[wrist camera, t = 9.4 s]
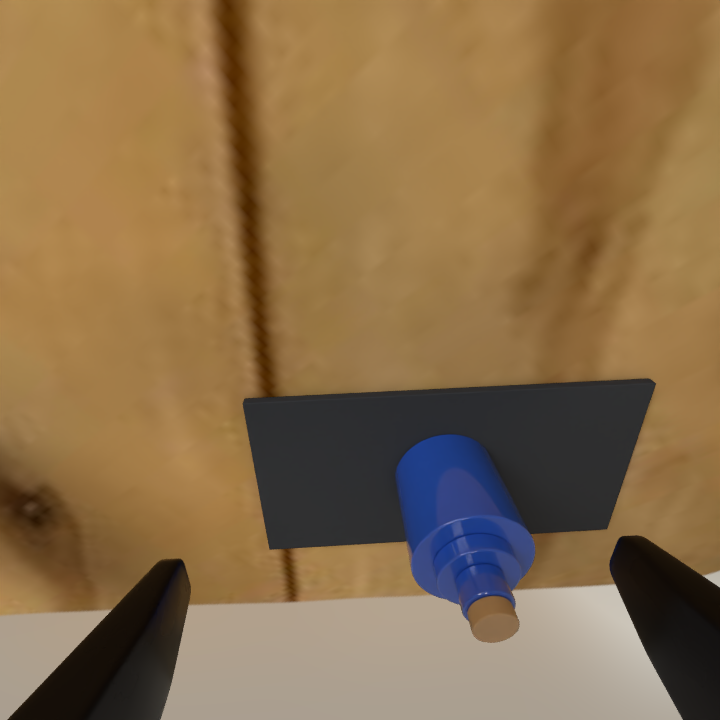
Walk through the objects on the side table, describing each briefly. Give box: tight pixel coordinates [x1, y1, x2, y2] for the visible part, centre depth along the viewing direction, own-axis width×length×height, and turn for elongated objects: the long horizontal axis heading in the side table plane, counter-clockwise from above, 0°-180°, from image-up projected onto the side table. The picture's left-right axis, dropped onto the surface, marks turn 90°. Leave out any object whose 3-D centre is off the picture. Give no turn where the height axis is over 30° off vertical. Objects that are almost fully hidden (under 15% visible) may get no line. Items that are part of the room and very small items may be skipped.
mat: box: [243, 379, 656, 550], centre depth 22 cm, size 20×10×1 cm, turn 92°
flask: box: [395, 434, 535, 643], centre depth 18 cm, size 5×5×8 cm
